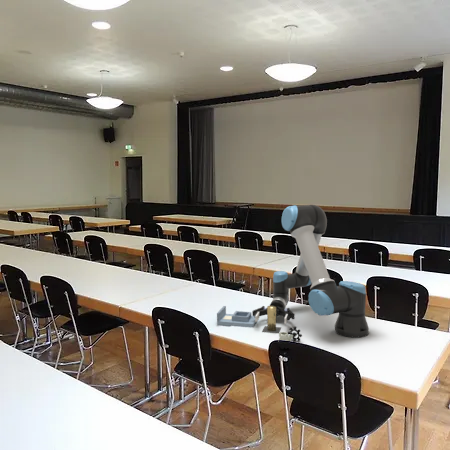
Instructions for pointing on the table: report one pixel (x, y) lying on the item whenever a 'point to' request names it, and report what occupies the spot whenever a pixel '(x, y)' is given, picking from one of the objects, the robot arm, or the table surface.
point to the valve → (288, 337)
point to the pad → (271, 331)
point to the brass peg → (271, 318)
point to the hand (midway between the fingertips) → (270, 320)
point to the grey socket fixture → (235, 318)
